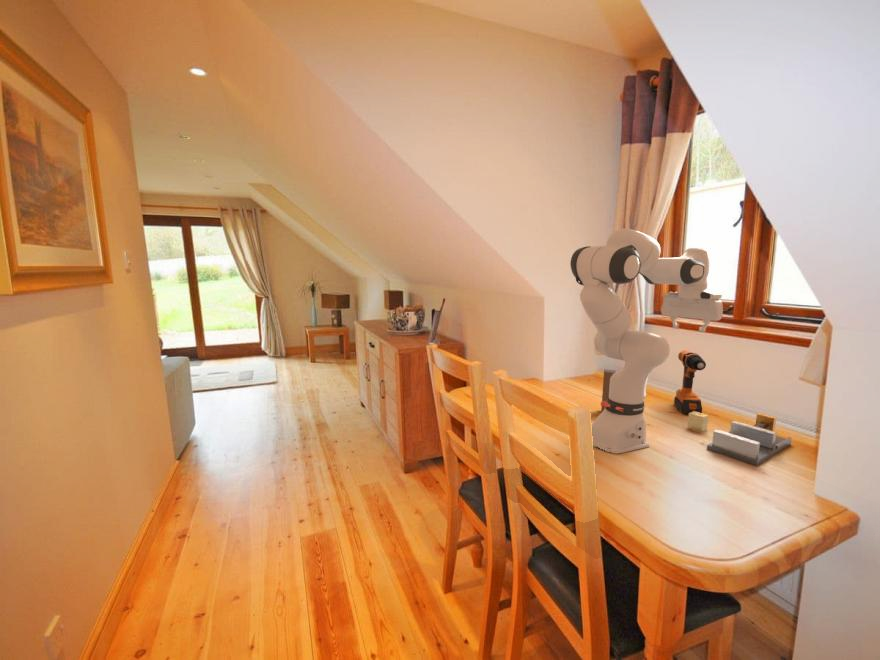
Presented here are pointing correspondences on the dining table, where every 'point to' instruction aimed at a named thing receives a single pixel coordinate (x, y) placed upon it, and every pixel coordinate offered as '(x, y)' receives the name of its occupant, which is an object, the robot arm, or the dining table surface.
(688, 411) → the power drill
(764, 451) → the vise base
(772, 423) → the sliding jaw
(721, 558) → the dining table surface
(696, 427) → the brass block
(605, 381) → the brown tall block
